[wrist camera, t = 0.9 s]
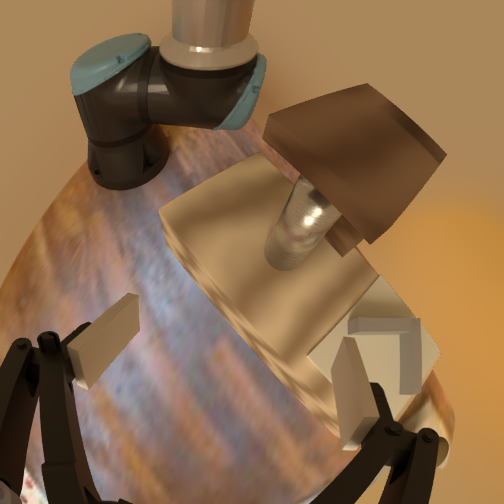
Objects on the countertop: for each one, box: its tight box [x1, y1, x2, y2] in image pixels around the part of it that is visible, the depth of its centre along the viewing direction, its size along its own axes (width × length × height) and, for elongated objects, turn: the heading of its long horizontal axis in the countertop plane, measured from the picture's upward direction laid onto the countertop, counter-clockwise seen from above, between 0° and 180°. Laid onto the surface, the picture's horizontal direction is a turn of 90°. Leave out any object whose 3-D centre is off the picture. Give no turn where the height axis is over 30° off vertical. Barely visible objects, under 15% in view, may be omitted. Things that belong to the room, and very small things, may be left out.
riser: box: [158, 152, 441, 446], centre depth 35 cm, size 38×16×10 cm, turn 41°
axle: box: [264, 174, 342, 271], centre depth 26 cm, size 4×4×12 cm
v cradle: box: [307, 275, 439, 419], centre depth 27 cm, size 14×14×3 cm
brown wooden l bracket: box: [262, 83, 447, 258], centre depth 24 cm, size 9×12×18 cm
